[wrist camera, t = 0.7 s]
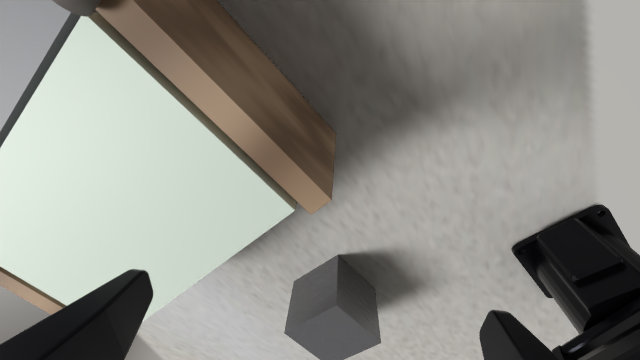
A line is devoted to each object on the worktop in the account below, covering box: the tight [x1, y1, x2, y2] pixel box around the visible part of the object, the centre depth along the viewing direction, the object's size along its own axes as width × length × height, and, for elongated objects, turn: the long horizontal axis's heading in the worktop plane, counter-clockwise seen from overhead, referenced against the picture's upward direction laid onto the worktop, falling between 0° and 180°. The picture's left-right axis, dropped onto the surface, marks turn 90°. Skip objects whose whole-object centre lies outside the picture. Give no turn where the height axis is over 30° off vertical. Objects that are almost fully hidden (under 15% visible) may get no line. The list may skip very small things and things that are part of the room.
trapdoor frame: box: [0, 0, 336, 315], centre depth 16 cm, size 18×18×9 cm
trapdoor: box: [0, 0, 297, 322], centre depth 15 cm, size 17×15×4 cm
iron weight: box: [284, 255, 381, 360], centre depth 25 cm, size 5×5×5 cm
